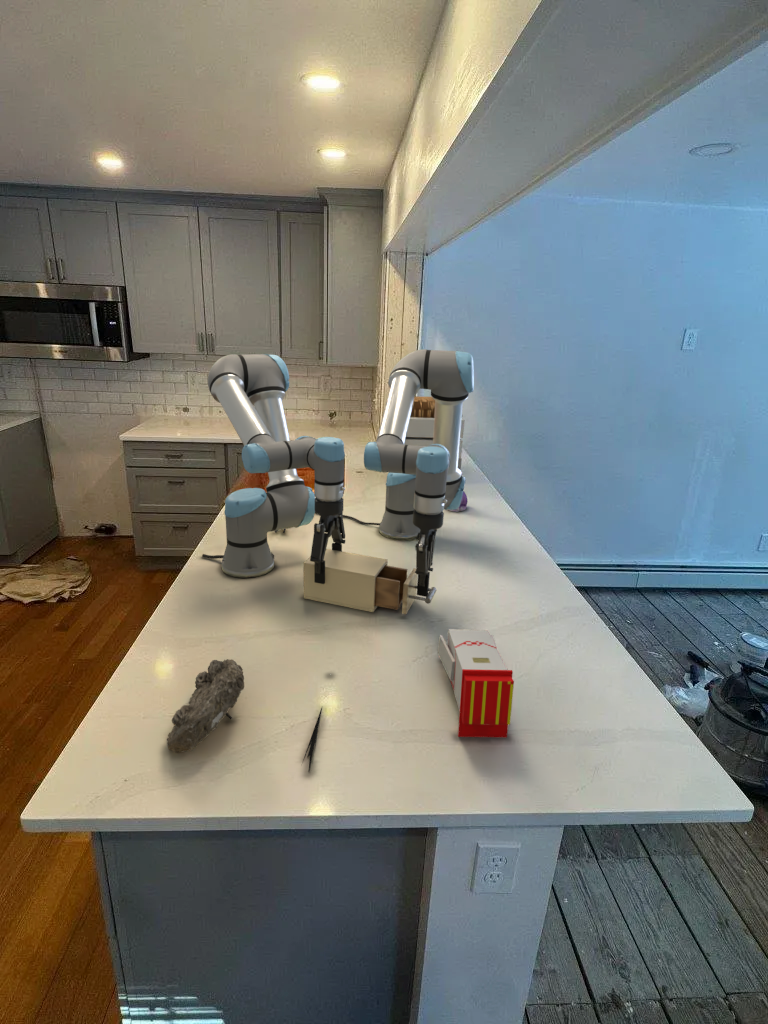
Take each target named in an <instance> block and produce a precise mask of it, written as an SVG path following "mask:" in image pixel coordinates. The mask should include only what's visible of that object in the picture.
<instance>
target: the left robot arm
mask: <svg viewBox="0 0 768 1024" xmlns="http://www.w3.org/2000/svg"><path fill="white" fill-rule="evenodd" d="M289 380H290V373H289V369H288V367H287V364H286V362H285V361H284V359H282V358H281V357H280V356H279V355H277V354H269V353H262V354H261V353H260V354H259V353H258V354H257V353H255V354H250V353H249V354H234V353H233V354H227V355H224V356H222V357H220V358H219V359H217V360H216V361H215V362H214V363H213V365H211V368H210V369H209V372H208V376H207V387H208V390H209V393H210V394H211V396H212V399H214V400H215V402H217V403H220V406H221V407H222V409H223V410H224V412H225V414H226V416H227V418H228V420H229V421H230V423H231V425H232V427H233V429H234V430H235V432H236V435H237V437H238V438H239V440H240V441H241V443H242V444H243V447H242V449H241V461H242V464H243V468H244V470H245V471H246V472H247V473H249V474H266V473H267V475H268V479H269V482H268V484H267V485H266V486H265V490H264V489H263V488H261V487H253V488H252V487H246V488H241V489H237V490H235V491H233V492H231V493H229V495H227V497H226V498H225V500H224V517H225V519H224V520H225V534H226V536H225V537H226V545H225V549H224V553H223V554H216V555H215V554H214V555H210V554H206V553H205V554H204V553H202V554H201V556H202V558H205V559H210V560H214V559H216V560H217V559H221V571H222V572H223V573H224V574H226V575H227V576H230V577H233V578H234V577H235V578H244V579H245V578H256V577H260V576H264V575H266V574H268V573H270V572H272V571H273V569H274V567H275V555H274V553H273V552H272V551H271V548H270V546H269V543H268V533H270V532H275V531H277V532H278V531H283V530H284V529H286V530H288V529H294V528H300V527H303V526H307V525H309V524H310V523H312V521H313V519H314V518H315V514H316V513H318V514H317V515H319V521H318V523H317V522H315V523H314V524H313V536H312V543H311V551H310V556H311V558H310V561H312V562H314V582H315V583H320V584H325V561H324V556H325V551H326V549H327V547H328V542H329V539H330V538H331V540H332V543H331V550H337V551H343V544H346V531H345V523H344V517H343V515H344V514H343V513H344V498H343V497H344V492H345V490H346V487H345V485H344V483H345V482H344V481H345V457H346V454H345V442H344V441H343V439H341V438H339V437H334V436H322V437H318V438H315V437H313V436H309V435H301V436H299V437H297V438H295V439H293V440H291V438H290V433H289V428H288V423H287V419H286V415H285V409H284V404H283V401H284V399H285V397H286V392H287V391H288V390H289V389H290V381H289ZM305 468H310V469H311V470H313V472H314V480H313V481H314V482H313V483H314V485H313V488H314V489H313V488H312V487H310V486H306V485H305V481H304V479H303V478H301V477H300V476H299V475H298V471H297V469H305ZM315 512H316V513H315ZM282 529H283V530H282Z"/></svg>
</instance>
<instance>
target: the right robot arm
mask: <svg viewBox="0 0 768 1024" xmlns="http://www.w3.org/2000/svg"><path fill="white" fill-rule="evenodd" d="M474 370H475V367H474V358H473V355H472V354H471V353H470V352H467V351H459V350H440V349H439V350H438V349H424V348H422V349H416V350H413V351H411V352H409V353H408V354H406V355H404V356H403V357H401V358H400V360H398V361H397V362H396V364H394V366H393V368H392V370H391V372H390V373H389V377H388V382H387V385H388V388H389V390H388V394H387V399H386V402H385V406H384V410H383V413H382V417H381V421H380V425H379V429H378V432H377V436H376V440H374V441H368V442H367V443H366V444H365V446H364V451H363V465H364V468H365V469H366V470H367V471H373V472H378V473H387V475H386V482H385V504H384V505H385V507H384V508H385V509H384V513H383V515H382V519H381V522H365V521H361V520H359V519H358V518H355V517H354V516H350V515H345V514H343V518H346V519H350V520H353V521H355V522H357V523H359V524H361V525H367V526H378V533H379V534H380V535H381V536H382V537H385V538H387V539H389V540H395V541H410V540H415V539H417V543H415V546H414V547H415V553H416V554H415V561H416V562H415V568H416V571H415V573H416V574H417V589H416V596H418V597H424V598H426V597H427V595H428V593H429V591H428V589H429V588H430V575H431V572H433V571H434V568H433V567H432V566H433V559H434V553H435V544H436V537H437V533H438V529H441V528H442V527H443V525H444V516H445V512H444V511H448V510H449V511H450V510H456V509H458V508H459V506H460V503H461V499H462V495H463V491H464V489H465V484H466V477H465V476H463V475H462V473H461V472H462V470H461V471H460V469H459V468H458V456H459V443H460V439H461V438H460V431H461V419H463V408H464V407H463V405H464V402H465V401H466V400H468V398H469V394H471V393H473V392H474V390H475V371H474ZM420 390H430V397H432V398H433V399H434V400H435V415H434V433H433V444H432V445H430V446H428V447H427V446H414V445H404V444H405V439H406V434H407V430H408V425H409V420H410V416H411V411H412V406H413V402H414V397H416V395H417V394H418V393H419V391H420ZM461 475H462V476H461ZM315 514H316V515H319V514H318V513H316V512H315Z"/></svg>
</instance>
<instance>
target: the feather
mask: <svg viewBox="0 0 768 1024" xmlns="http://www.w3.org/2000/svg"><path fill="white" fill-rule="evenodd" d="M329 675H330V676H331V675H332V674H331V673H330V674H329ZM322 710H323V707H321V708H320V710H319V713H318V716H317V719H316V723H315V725H314V728H313V731H312V733H311V737H310V739H309V742H308V745H307V748H306V751H305V754H304V757H303V760H302V763H301V767H302V765H303V763H304V761H305V758H308V759H309V760H308V762H307V763H308V764H307V766H308V771H310V770H311V766H312V765H311V764H312V760H313V757H315V756H314V755H315V751H316V749H315V746H317V739H318V733H319V729H320V722H321V717H322V712H323V711H322ZM313 754H314V755H313ZM306 755H307V757H306Z"/></svg>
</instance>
